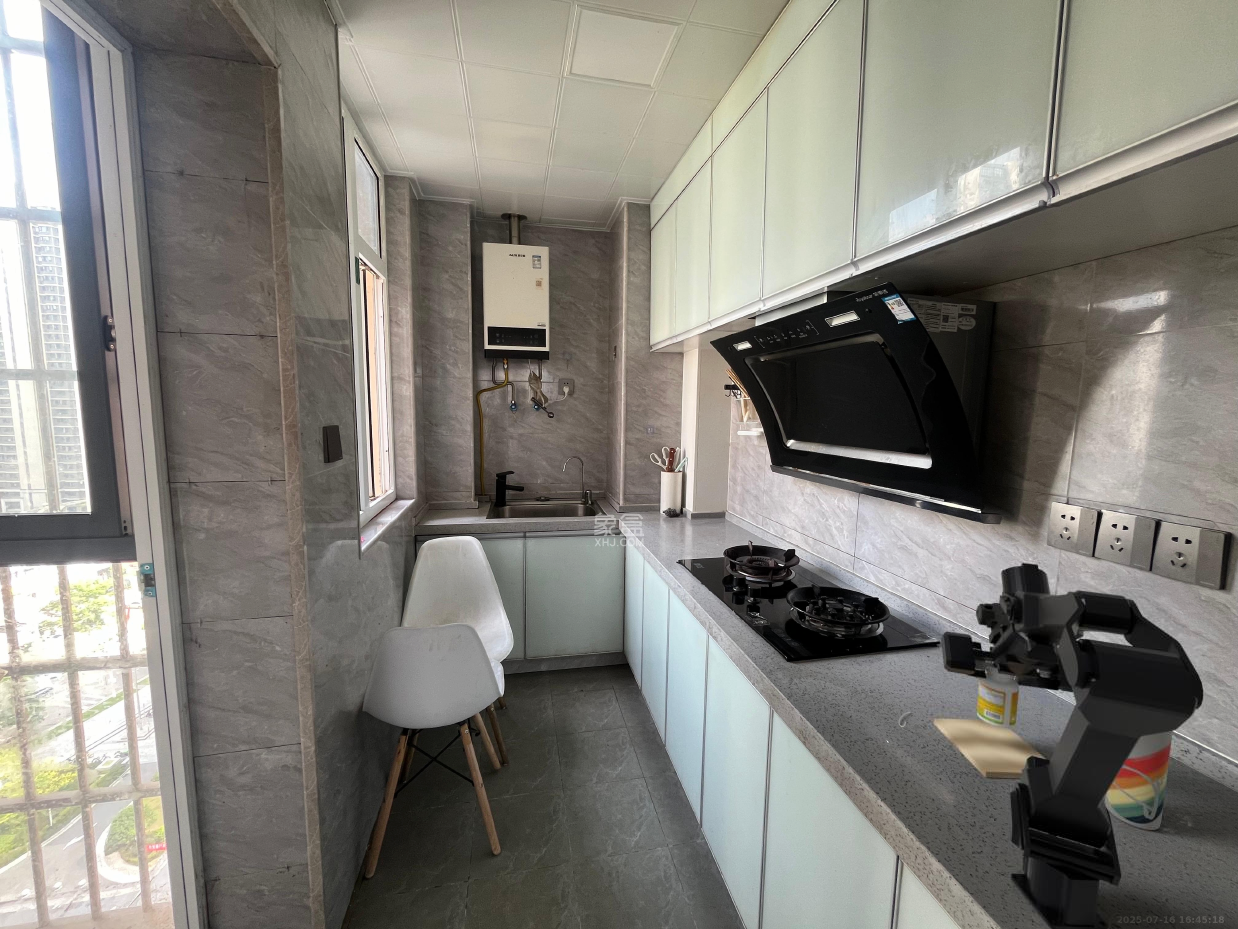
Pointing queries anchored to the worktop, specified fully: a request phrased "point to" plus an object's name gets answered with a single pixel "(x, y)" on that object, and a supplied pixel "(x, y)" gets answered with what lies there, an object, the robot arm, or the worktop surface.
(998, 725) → the supplement bottle
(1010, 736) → the oak board
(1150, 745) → the lotion bottle
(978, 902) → the worktop surface
